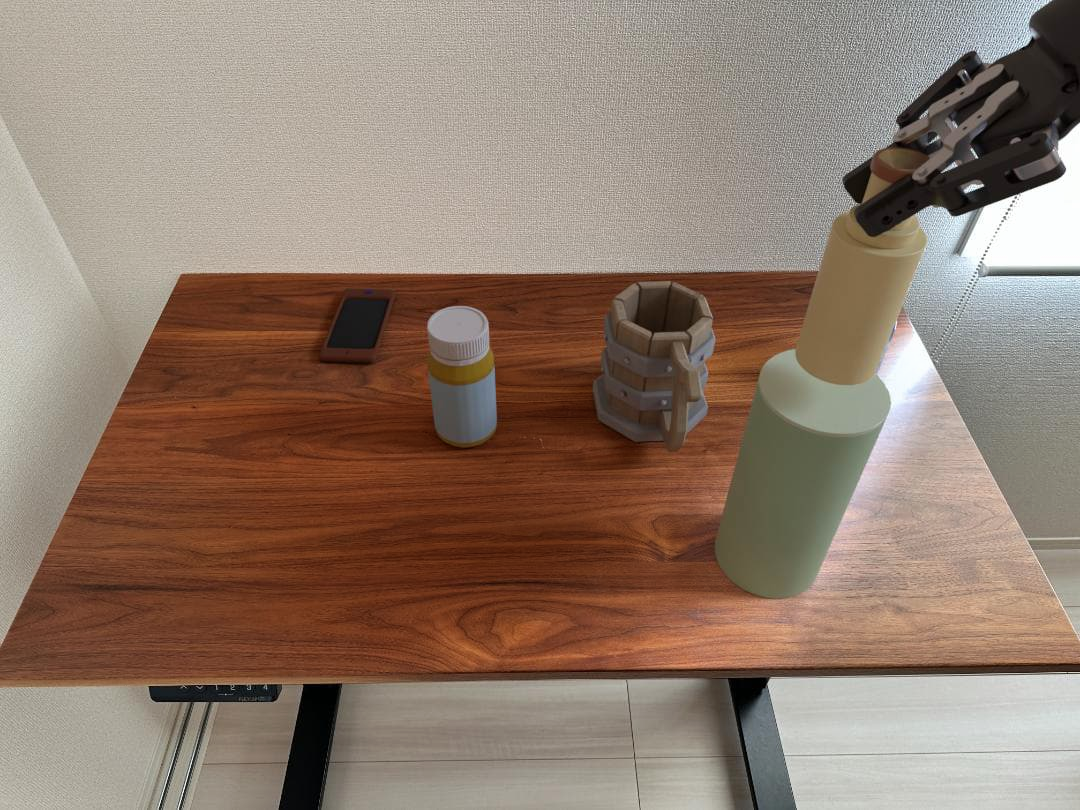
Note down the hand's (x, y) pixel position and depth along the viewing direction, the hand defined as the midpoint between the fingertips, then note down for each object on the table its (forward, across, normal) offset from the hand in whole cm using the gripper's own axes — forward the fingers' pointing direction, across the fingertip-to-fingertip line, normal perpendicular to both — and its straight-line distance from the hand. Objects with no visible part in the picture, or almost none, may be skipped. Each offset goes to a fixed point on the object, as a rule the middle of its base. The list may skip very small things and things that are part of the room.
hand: (856, 207), depth 50 cm
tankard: (+33, -17, +20) cm, 42 cm away
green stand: (+25, 0, +28) cm, 38 cm away
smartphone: (+60, -31, -7) cm, 68 cm away
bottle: (+48, -14, +5) cm, 50 cm away
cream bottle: (+7, 0, +10) cm, 13 cm away
